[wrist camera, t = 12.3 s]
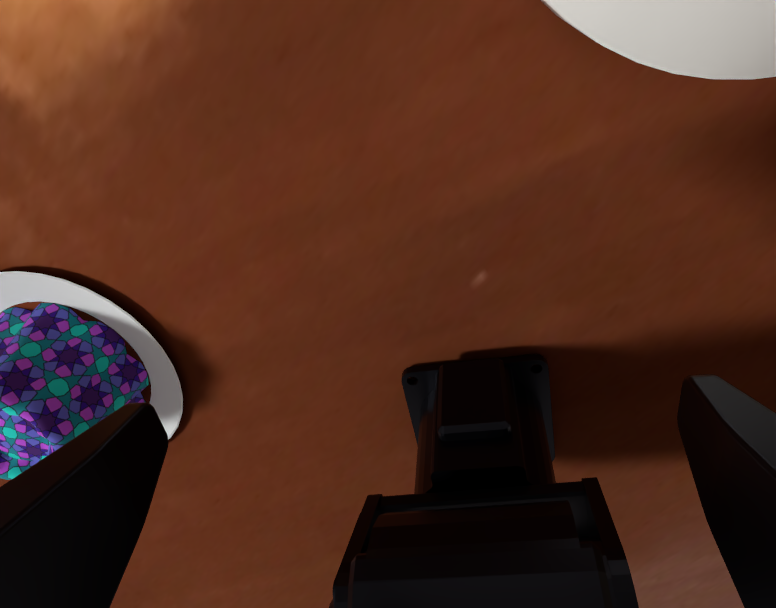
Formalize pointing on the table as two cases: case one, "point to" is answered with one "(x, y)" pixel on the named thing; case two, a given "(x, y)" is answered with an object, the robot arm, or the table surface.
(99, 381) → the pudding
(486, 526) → the robot arm
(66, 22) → the table surface
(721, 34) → the plinth
